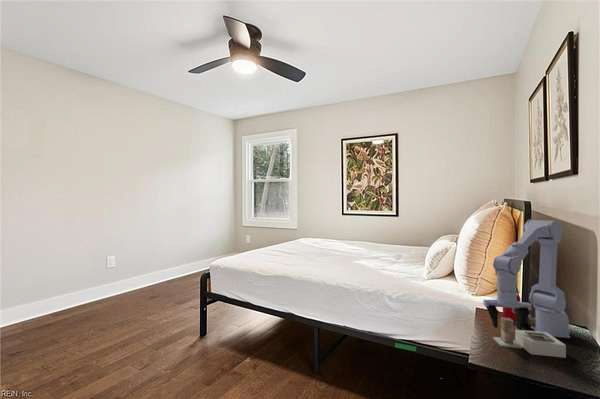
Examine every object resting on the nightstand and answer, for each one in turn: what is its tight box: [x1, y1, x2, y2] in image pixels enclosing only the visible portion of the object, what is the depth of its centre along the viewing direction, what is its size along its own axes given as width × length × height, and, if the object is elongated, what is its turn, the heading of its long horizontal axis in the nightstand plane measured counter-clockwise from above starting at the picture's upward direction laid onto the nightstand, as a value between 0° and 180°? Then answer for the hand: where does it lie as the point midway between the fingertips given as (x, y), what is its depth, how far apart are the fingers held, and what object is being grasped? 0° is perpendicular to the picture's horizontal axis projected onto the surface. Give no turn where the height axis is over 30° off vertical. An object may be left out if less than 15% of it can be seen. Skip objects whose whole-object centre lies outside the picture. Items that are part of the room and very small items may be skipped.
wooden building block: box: [500, 316, 514, 344], centre depth 105 cm, size 3×3×8 cm
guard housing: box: [514, 329, 567, 359], centre depth 101 cm, size 10×10×4 cm
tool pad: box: [493, 336, 523, 349], centre depth 105 cm, size 6×6×1 cm
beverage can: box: [502, 292, 522, 324], centre depth 126 cm, size 6×6×12 cm
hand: (507, 327), depth 105 cm, fingers open, 7 cm apart
